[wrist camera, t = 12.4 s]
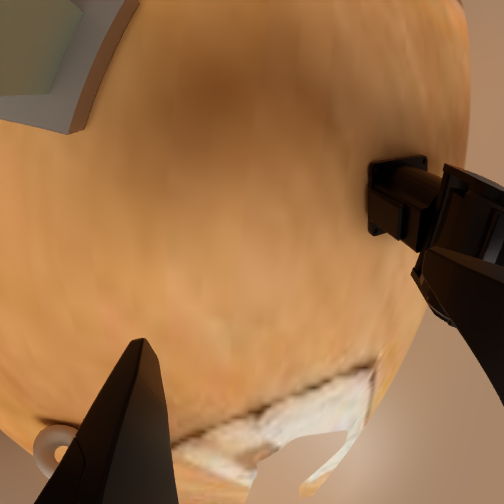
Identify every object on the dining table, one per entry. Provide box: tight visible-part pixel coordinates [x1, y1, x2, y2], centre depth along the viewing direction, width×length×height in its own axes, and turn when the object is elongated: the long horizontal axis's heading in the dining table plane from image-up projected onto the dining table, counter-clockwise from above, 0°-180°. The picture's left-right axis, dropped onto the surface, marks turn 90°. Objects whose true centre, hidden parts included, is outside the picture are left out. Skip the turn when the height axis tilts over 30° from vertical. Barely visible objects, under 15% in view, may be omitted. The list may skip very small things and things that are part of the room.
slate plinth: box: [0, 0, 139, 135], centre depth 10 cm, size 9×9×3 cm
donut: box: [33, 424, 78, 479], centre depth 25 cm, size 10×3×10 cm, turn 79°
